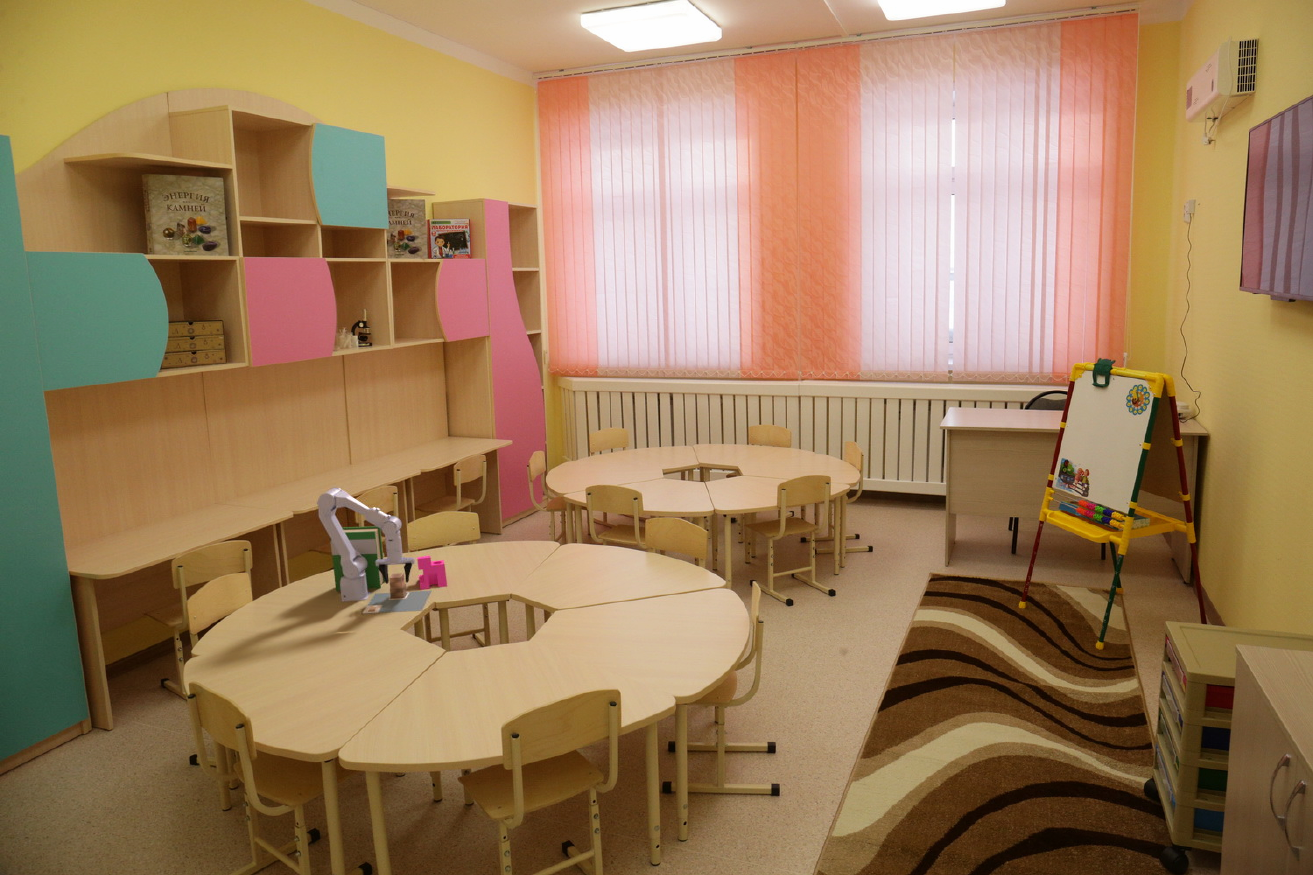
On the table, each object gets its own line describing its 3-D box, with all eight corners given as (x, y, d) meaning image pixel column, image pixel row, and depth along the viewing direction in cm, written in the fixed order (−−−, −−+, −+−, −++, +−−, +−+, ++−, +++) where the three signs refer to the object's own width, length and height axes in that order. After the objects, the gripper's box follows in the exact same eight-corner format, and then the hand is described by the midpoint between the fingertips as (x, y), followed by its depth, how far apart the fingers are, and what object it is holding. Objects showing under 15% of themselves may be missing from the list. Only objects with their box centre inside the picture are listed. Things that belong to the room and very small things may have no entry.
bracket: (419, 581, 362) (417, 557, 360) (445, 577, 365) (443, 553, 363) (420, 591, 351) (418, 566, 349) (447, 587, 354) (445, 563, 352)
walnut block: (390, 598, 343) (389, 589, 342) (393, 593, 348) (392, 584, 347) (403, 598, 343) (402, 588, 342) (406, 593, 348) (405, 583, 347)
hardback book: (385, 582, 362) (380, 526, 357) (380, 589, 354) (374, 531, 350) (342, 584, 362) (336, 527, 357) (336, 590, 354) (329, 533, 350)
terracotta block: (390, 588, 342) (389, 577, 341) (393, 584, 346) (392, 573, 345) (402, 588, 342) (401, 577, 341) (404, 584, 346) (403, 573, 346)
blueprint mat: (361, 615, 329) (361, 613, 329) (375, 594, 349) (375, 593, 349) (422, 611, 330) (421, 610, 330) (431, 591, 350) (431, 590, 350)
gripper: (372, 553, 337) (375, 586, 340) (411, 551, 338) (414, 584, 341) (376, 547, 344) (380, 580, 347) (414, 545, 345) (417, 578, 347)
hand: (397, 582), depth 344 cm, fingers open, 7 cm apart
